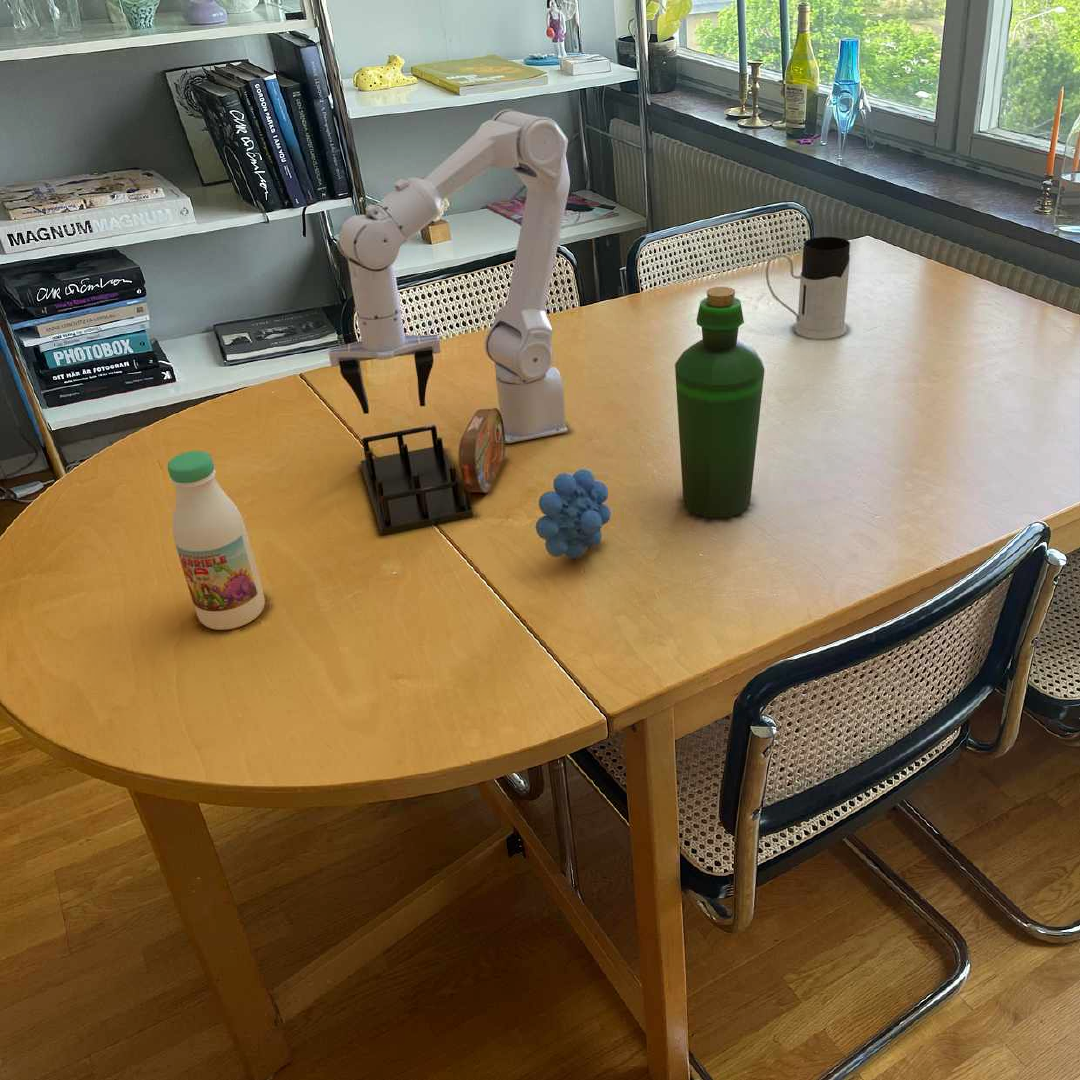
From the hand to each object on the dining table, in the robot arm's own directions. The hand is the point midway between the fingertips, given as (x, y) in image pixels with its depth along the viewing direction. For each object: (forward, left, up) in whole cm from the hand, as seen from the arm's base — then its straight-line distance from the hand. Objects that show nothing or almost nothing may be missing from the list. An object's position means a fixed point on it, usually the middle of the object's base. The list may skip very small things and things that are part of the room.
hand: (394, 407), depth 141 cm
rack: (0, +7, -10) cm, 12 cm away
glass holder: (-74, -22, -10) cm, 78 cm away
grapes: (-16, +32, -10) cm, 37 cm away
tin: (-10, +7, -10) cm, 16 cm away
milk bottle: (+25, +27, -10) cm, 38 cm away
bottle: (-36, +26, -10) cm, 45 cm away
